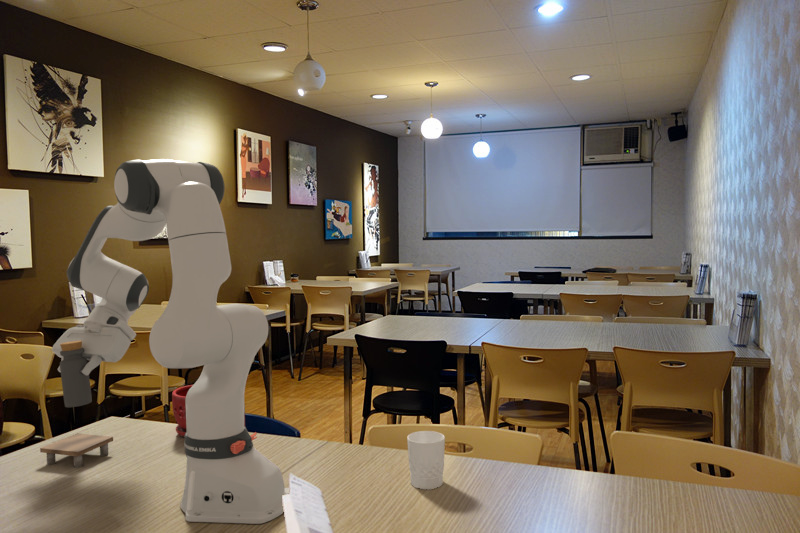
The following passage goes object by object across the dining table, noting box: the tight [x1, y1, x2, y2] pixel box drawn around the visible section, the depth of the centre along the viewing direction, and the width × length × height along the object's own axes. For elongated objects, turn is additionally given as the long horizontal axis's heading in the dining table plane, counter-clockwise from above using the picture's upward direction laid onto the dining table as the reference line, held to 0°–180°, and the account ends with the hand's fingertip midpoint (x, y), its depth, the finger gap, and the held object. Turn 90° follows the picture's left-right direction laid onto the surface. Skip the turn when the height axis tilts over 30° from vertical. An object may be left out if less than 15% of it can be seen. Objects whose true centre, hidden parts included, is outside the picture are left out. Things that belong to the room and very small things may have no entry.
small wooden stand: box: [39, 432, 114, 469], centre depth 148 cm, size 11×11×4 cm
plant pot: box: [171, 384, 194, 438], centre depth 166 cm, size 13×13×12 cm
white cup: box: [406, 430, 446, 490], centre depth 129 cm, size 8×8×10 cm
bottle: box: [59, 341, 93, 408], centre depth 147 cm, size 6×6×15 cm
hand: (72, 373), depth 146 cm, fingers closed on bottle, 6 cm apart
